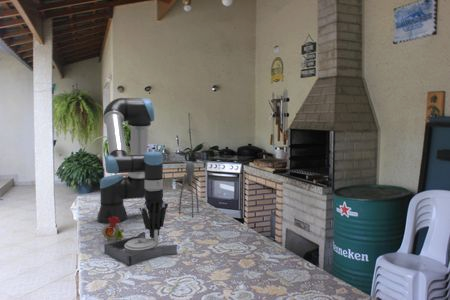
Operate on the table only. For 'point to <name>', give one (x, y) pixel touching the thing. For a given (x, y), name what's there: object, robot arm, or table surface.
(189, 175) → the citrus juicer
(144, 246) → the grey pulley wheel
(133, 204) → the table surface
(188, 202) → the table surface
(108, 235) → the bird rattle
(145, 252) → the steel bracket
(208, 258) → the table surface
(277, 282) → the table surface
